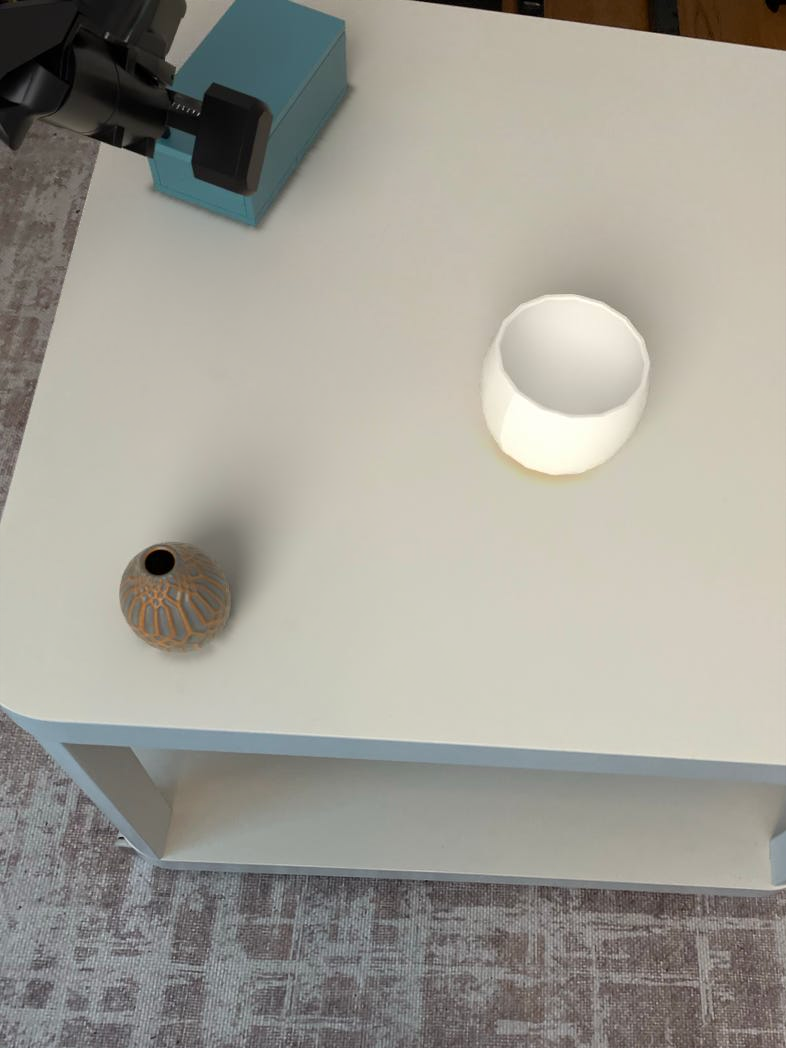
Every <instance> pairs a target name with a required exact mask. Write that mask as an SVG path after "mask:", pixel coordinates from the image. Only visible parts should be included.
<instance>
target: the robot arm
mask: <svg viewBox="0 0 786 1048" xmlns="http://www.w3.org/2000/svg"><path fill="white" fill-rule="evenodd" d="M187 8H188V5H187V1H186V0H12V1H11V2H9V0H0V142H2V144H4V145H5V146H6V147H7V148H9V150H11V151H13V152H17V151H20V149H21V148H22V146H23V144H24V142H25V139H26V138H27V136H28V134H29V132H30V130H31V128H32V126H33V124H34V123H35V122H36V121H39V122H42V123H45V124H47V125H50V126H53V127H56V128H59V129H62V130H67V131H69V132H73V133H76V134H80V135H82V136H85V137H88V138H90V139H93V140H96V141H99V142H101V143H104V144H107V145H109V146H112V147H114V148H119V149H121V150H122V149H123V150H126V151H129V152H132V153H135V154H137V155H140V156H142V157H146V158H147V157H148V158H151V159H153V157H154V151H155V145H156V140H158V139H160V138H161V136H162V135H163V133H164V131H165V129H166V127H167V126H169V127H171V128H174V129H177V130H179V131H182V132H185V133H188V134H190V135H193V136H196V138H195V143H194V149H193V154H192V159H191V165H192V170H193V174H194V178H196V179H199V180H201V181H204V182H207V183H209V184H212V185H215V186H217V187H220V188H223V189H226V190H228V191H231V192H234V193H236V194H239V195H243V196H246V197H249V196H251V195H253V194H254V193H256V192H257V190H258V185H259V181H260V176H261V172H262V167H263V162H264V158H265V153H266V149H267V144H268V140H269V135H270V130H271V126H272V121H273V117H274V115H273V113H272V111H271V109H270V107H269V105H268V104H267V103H265V102H263V101H262V100H260V99H258V98H255V97H253V96H250V95H247V94H244V93H242V92H239V91H236V90H234V89H231V88H228V87H225V86H223V85H220V84H217V83H214V82H213V83H212V84H211V85H210V86H209V88H208V89H207V90H206V92H205V93H204V96H203V101H200V100H198V99H195V98H192V97H189V96H187V95H184V94H181V93H178V92H176V91H173V90H170V89H167V88H166V86H169V87H172V86H173V82H174V77H175V74H176V71H177V66H176V65H173V64H172V63H169V62H168V61H166V59H167V56H168V54H169V52H170V51H171V48H172V45H173V43H174V40H175V37H176V35H177V32H178V29H179V27H180V24H181V22H182V20H183V19H184V18H185V16H186V13H187V10H188V9H187ZM170 104H171V107H173V108H174V107H175V106H176V109H178V110H180V108H181V110H182V111H184V112H185V110H186V112H187V113H189V114H190V112H191V114H192V115H195V114H196V115H197V116H198V117H199V120H196V119H193V118H190V117H188V116H185V115H182V114H179V113H177V112H174V111H171V110H170ZM148 158H147V159H148Z"/></svg>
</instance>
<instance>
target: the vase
mask: <svg viewBox="0 0 786 1048" xmlns="http://www.w3.org/2000/svg"><path fill="white" fill-rule="evenodd" d="M126 565H127V566H126V567H125V568H124V571H123V573H122V575H121V578H120V583H119V591H118V599H119V606H120V610H121V613H122V616H123V617H124V620H125V622H126V624H127V625H128V627H129V628H130V629H131V630H132V632H133V633H134V634H135V635H136V636H137V637H138V638H139V639H140V640H141V641H142V642H144V643H145V644H147V645H149V646H150V647H153V648H154V649H156V650H160V651H162V652H167V653H173V654H183V653H191V652H194V651H198V650H199V649H202V648H205V647H206V646H207V645H209V644H210V643H212V642H213V641H214V640H215V639H216V638H217V637H219V635H220V634H221V633H222V631H223V630H224V628H225V626H226V624H227V622H228V620H229V617H230V613H231V606H232V596H231V590H230V586H229V582H228V579H227V576H226V575H225V572H224V570H223V569H222V568H221V566H220V565H219V564H218V563H217V561H216V560H214V559H213V557H211V556H210V555H209V554H208V553H207V552H205V551H204V550H202V549H201V548H198V547H197V546H194V545H191V544H188V543H184V542H181V541H180V542H179V541H163V542H160V543H155V544H152V545H150V546H148V547H146V548H144V549H142V550H141V551H139V552H138V553H137V554H136V555H135V556H134V557H132V559H130V561H129V562H128V564H126Z"/></svg>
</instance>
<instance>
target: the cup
mask: <svg viewBox="0 0 786 1048" xmlns="http://www.w3.org/2000/svg"><path fill="white" fill-rule="evenodd" d="M480 373H481V374H480V379H479V385H478V386H479V387H478V388H479V393H480V399H481V407H482V413H483V416H484V420H485V423H486V426H487V429H488V432H489V433H490V434H491V436H492V437H493V439H494V440H495V442H496V444H497V445H498V447H499V448H500V449H501V451H502V452H503V453H505V454H506V455H507V456H509V457H510V458H512V459H514V460H515V461H516V462H518V463H519V464H520V465H522V466H523V467H525V468H526V469H530V470H533V471H537V472H540V473H545V474H547V475H551V476H557V475H558V476H559V475H575V474H583V473H584V472H587V471H589V470H591V469H594V468H596V467H598V466H600V465H603V464H604V463H606V462H607V461H608V460H609V459H610V458H612V457H613V456H614V455H615V454H616V453H617V452H618V451H619V450H620V449H621V448H622V447H623V445H624V444H625V443H626V442H627V441H628V440H629V439H630V437H632V435H633V434H634V433H635V432H636V430H637V427H638V426H639V423H640V421H641V418H642V416H643V414H644V412H645V409H646V404H647V400H648V396H649V391H650V387H651V378H652V376H651V375H652V363H651V359H650V356H649V352H648V349H647V345H646V340H645V339H644V338H643V336H642V335H641V334H640V332H639V331H638V330H637V328H636V327H635V325H633V323H632V322H631V321H630V320H629V318H628V317H627V316H626V315H624V314H623V313H621V312H619V311H618V310H616V309H615V308H613V307H612V306H611V305H608V303H605V302H604V301H602V300H601V301H600V300H597V299H594V298H591V297H587V296H583V295H580V294H575V293H561V294H559V293H558V294H555V293H554V294H543V295H541V296H539V297H536V298H534V299H530V300H528V301H526V302H523V303H520V304H518V306H516V307H515V308H514V309H513V310H512V311H511V312H510V313H509V314H508V315H507V316H506V317H505V318H504V319H503V320H502V321H501V322H500V323H499V325H498V327H497V328H496V330H495V332H494V333H493V335H492V336H491V339H490V341H489V344H488V347H487V351H486V353H485V357H484V360H483V362H482V367H481V372H480Z"/></svg>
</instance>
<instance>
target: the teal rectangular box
mask: <svg viewBox="0 0 786 1048" xmlns="http://www.w3.org/2000/svg"><path fill="white" fill-rule="evenodd" d="M346 34H347V33H346V30H345V31H344V32H343V33H342V35H341V36H340V38H339V39H338V41H337V42H336V43H335V45H334V46H333V48H332V49H331V50H330V52H329V53H328V55H327V56H326V58H325V59H324V60H323V62H322V63H321V65H320V66H319V67H318V69H317V70H316V72H315V73H314V75H313V76H312V77H311V79H310V80H309V82H308V83H307V84H306V86H305V87H304V89H303V90H302V92H301V93H300V94H299V96H298V97H297V99H296V100H295V101H294V103H293V104H292V106H291V107H290V109H289V110H288V111H287V113H286V114H285V116H284V117H283V118H282V120H281V121H280V123H279V124H278V126H277V127H276V128H275V130H274V131H273V133H272V134H271V135H270V137H269V140H268V144H267V149H266V153H265V158H264V162H263V167H262V172H261V176H260V181H259V185H258V190H257V192H256V193H254V194H253V195H251V196H249V197H246V196H243V195H239V194H236V193H234V192H231V191H228V190H226V189H223V188H220V187H217V186H215V185H212V184H209V183H207V182H204V181H201V180H199V179H196V178H194V174H193V170H192V165H191V163H189V162H186V161H183V160H181V159H178V158H175V157H172V156H170V155H167V154H164V153H162V152H159V151H156V150H155V151H154V157H153V159H151V158H148V157H146V158H147V161H148V165H149V166H148V167H149V169H150V173H151V178H152V181H153V186H154V189H155V190H156V191H158V192H161V193H164V194H166V195H169V196H172V197H174V198H177V199H180V200H182V201H185V202H188V203H191V204H193V205H196V206H199V207H201V208H204V209H206V210H209V211H212V212H214V213H217V214H220V215H223V216H226V217H228V218H231V219H233V220H236V221H239V222H241V223H243V224H244V223H245V224H247V225H250V226H252V227H257V226H258V224H259V223H260V221H261V219H262V218H263V216H264V215H265V213H266V212H267V210H268V209H269V208H270V206H271V204H272V203H273V202H274V200H275V199H276V197H277V195H278V194H279V193H280V191H281V190H282V189H283V187H284V185H285V184H286V182H287V181H288V179H289V178H290V176H291V175H292V173H293V172H294V171H295V169H296V168H297V166H298V164H299V163H300V161H301V160H302V158H303V157H304V155H305V154H306V153H307V151H308V150H309V148H310V147H311V146H312V144H313V142H314V140H315V139H316V137H317V136H318V134H319V133H320V132H321V131H322V129H323V127H324V126H325V125H326V123H327V122H328V120H329V118H330V117H331V116H332V114H333V112H334V111H335V109H336V108H337V107H338V105H339V103H340V102H341V100H342V99H343V98H344V96H345V95H346V93H347V91H348V76H347V75H348V73H347V72H348V71H347V38H346V36H347V35H346Z"/></svg>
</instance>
